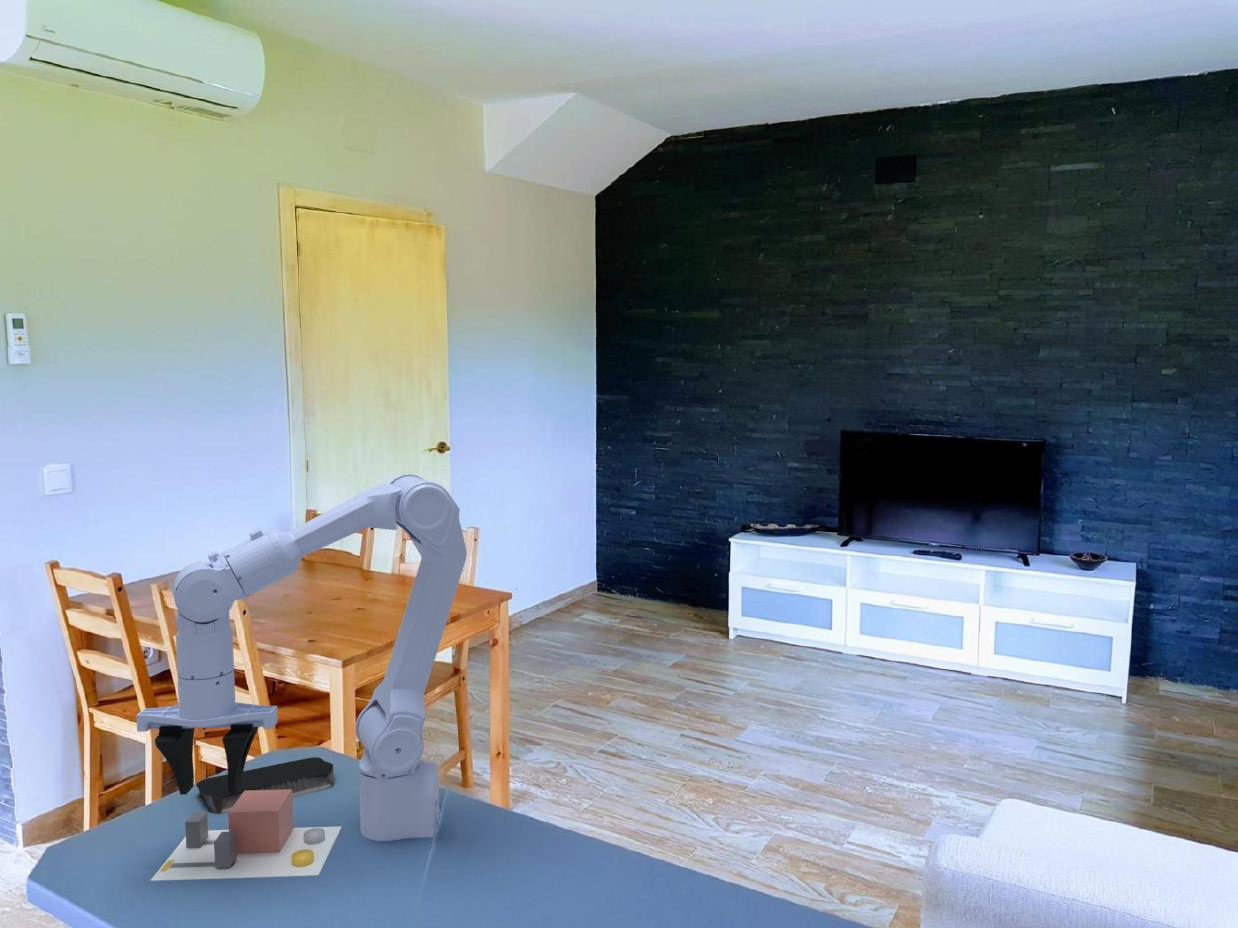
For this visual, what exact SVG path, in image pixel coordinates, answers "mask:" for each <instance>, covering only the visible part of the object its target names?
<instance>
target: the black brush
mask: <svg viewBox="0 0 1238 928" xmlns="http://www.w3.org/2000/svg"><path fill="white" fill-rule="evenodd" d="M334 776H335V775H334V765H333V763H331V762H328V761H325V760H324V759H323V758H321V757H317V756H316V757H315V756H314V757H307V758H302V759H296V760H292V761H287V762H283V763H276V764H273V765H268V766H263V767H257V768H252V769H248V770H243V775H242V782H241V787H240V788H239V789H238V791H237V792H236V793H229V791H228V773H227V774H222V775H217V776H213V777H212V776H211V777H207V778H204V779H202V780H200V781H197V783H196V784H195V786H196V787H197V789H198V791H199V795H200V798H201V800H202V801H203V802H204V803H205V804H206V807H207V810H208V811H207V812H210V813H213V814H219V815H221V814H225V813H228V812H229V811H230V810H231V808H232V807H233V806H234V804H235V803H236V802H237V800H238V799H239V798H240V796H241V795H242V794H243V792H244V791H248V790H286V789H292V798H294V797H298V796H301V795H306V794H309V793H314V792H317V791H322V790H326V789H328V788H331V787H334V785H335V778H334Z"/></svg>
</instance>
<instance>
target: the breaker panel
mask: <svg viewBox="0 0 1238 928" xmlns="http://www.w3.org/2000/svg"><path fill="white" fill-rule="evenodd" d="M184 822H185V823H184V825H185V837H184V838H183V839H182V840H181V841H180V843H179V844H178V845H177V847H176V848H175V849H174V850H173V851H172V853H171V854H170V855H169V857H168V858H167V859H166V860H165V862H164V863H163V864H162V865H161V867H160V868H159V869H158V870H157V872H156V873H155V874H154V875H153V876H152V878H151V879H150V882H156V881H157V882H158V881H187V880H189V881H190V880H218V879H221V880H222V879H247V878H249V879H251V878H278V877H283V878H284V877H307V876H308V877H309V876H310V877H311V876H313V877H315V876H317V877H318V876H320V874H321V872H322V869H323V867H324V865H325V862H326V860H327V859H328V857H329V855H330V852H331V851H332V848H333V846H334V844H335V842H336V840H337V838H338V835H339V833H340V831H341V829H342V826H341V825H340V826H316V827H315V826H313V827H310V826H309V827H308V826H307V827H293V830H292V832H291V834H290V836H289V837H288V839H287V841H286V843H285V844H284V846H283V848H282V849H281V851H280V853H251V854H237V858H236V859H235V861H234V862H233V864H232V865H231V867H230V868H215V854H214V842H215V840H216V839H217V838H218V836H219V835H220V834H221V832H229V829H213V830H211V829H210V830H209V824H208V811H199V812H198V811H196V812H194V811H193V812H192V813H191V814H190V815H189V817H188V818H187V819H186V820H185V821H184Z"/></svg>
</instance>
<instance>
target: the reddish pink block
mask: <svg viewBox="0 0 1238 928" xmlns="http://www.w3.org/2000/svg"><path fill="white" fill-rule="evenodd" d="M293 807H294V806H293V797H292V789H286V790H248V791H244V792H243V794H242V795H241V796H240V798H239V799H238V800H237V802H236V803H235V804H234V806H233V807H232V808H231V810H230V811H229V812H227V814H228V830H229V832H230V831H236V838H237V854H251V853H280V851H281V849H282V848H283V846H284V844H285V843H286V841H287V839H288V837H289V836H290V834H291V832H292V830H293V828H294V808H293Z"/></svg>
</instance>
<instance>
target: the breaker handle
mask: <svg viewBox="0 0 1238 928" xmlns="http://www.w3.org/2000/svg"><path fill="white" fill-rule="evenodd" d="M214 854H215V868H230V867H231V865H232V864H233V862H234V861H235V859H236V858H237V838H236V831H230V832H221V834H220V835H219V836H218V838H217V839H216V840H215V842H214Z"/></svg>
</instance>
